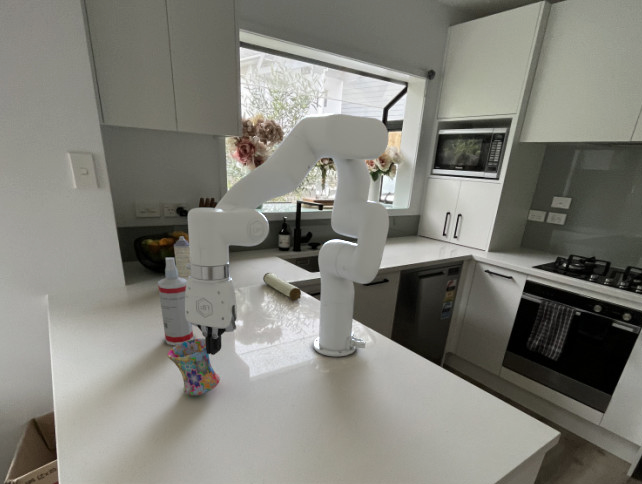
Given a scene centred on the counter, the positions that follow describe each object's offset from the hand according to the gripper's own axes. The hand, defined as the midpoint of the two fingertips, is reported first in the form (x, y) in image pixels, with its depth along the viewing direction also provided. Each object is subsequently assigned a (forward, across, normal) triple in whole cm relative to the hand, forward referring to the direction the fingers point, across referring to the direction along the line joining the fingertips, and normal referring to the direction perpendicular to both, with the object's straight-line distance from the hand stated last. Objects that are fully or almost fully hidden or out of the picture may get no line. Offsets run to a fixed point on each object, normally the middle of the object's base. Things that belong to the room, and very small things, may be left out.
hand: (213, 351), depth 83 cm
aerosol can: (+10, -56, +71) cm, 91 cm away
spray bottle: (+11, -25, +22) cm, 35 cm away
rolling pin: (+9, -14, +76) cm, 78 cm away
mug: (+10, -4, +2) cm, 11 cm away
